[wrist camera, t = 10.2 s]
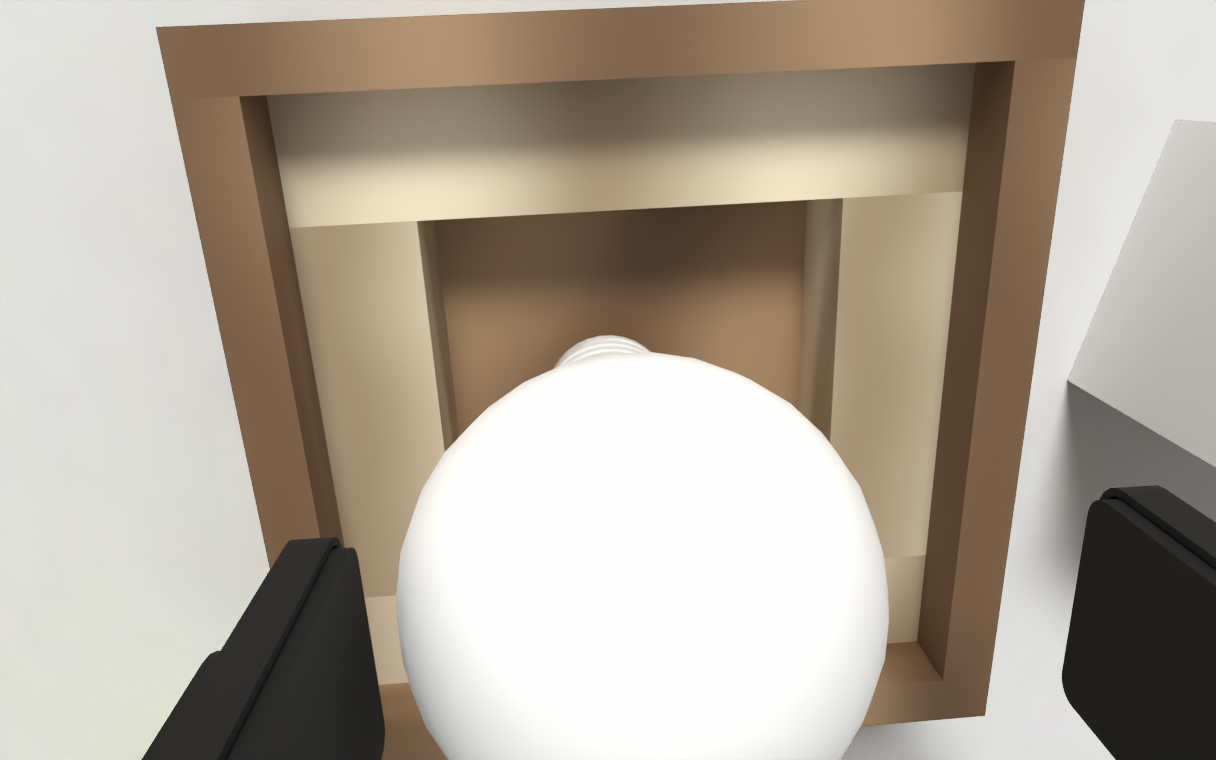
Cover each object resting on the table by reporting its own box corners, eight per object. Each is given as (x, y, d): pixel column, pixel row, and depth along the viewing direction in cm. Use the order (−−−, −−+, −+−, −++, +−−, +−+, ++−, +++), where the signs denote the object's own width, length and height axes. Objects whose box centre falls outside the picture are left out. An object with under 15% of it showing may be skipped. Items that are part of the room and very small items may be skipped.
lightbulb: (697, 527, 20) (852, 1026, 9) (438, 472, 19) (297, 955, 9) (782, 280, 18) (1096, 565, 7) (498, 206, 17) (410, 414, 7)
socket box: (965, 7, 17) (1086, -12, 13) (908, 603, 22) (985, 715, 18) (247, 38, 16) (155, 27, 12) (355, 647, 21) (313, 773, 17)
